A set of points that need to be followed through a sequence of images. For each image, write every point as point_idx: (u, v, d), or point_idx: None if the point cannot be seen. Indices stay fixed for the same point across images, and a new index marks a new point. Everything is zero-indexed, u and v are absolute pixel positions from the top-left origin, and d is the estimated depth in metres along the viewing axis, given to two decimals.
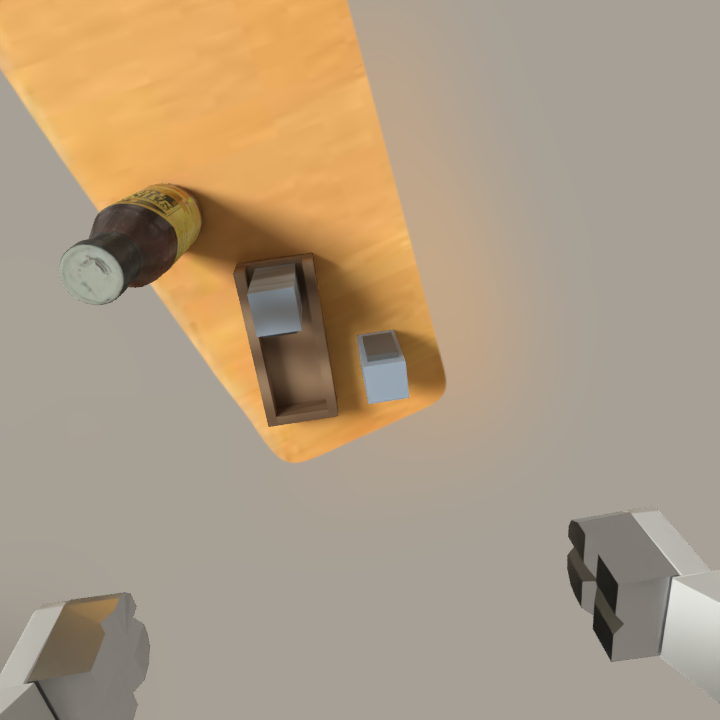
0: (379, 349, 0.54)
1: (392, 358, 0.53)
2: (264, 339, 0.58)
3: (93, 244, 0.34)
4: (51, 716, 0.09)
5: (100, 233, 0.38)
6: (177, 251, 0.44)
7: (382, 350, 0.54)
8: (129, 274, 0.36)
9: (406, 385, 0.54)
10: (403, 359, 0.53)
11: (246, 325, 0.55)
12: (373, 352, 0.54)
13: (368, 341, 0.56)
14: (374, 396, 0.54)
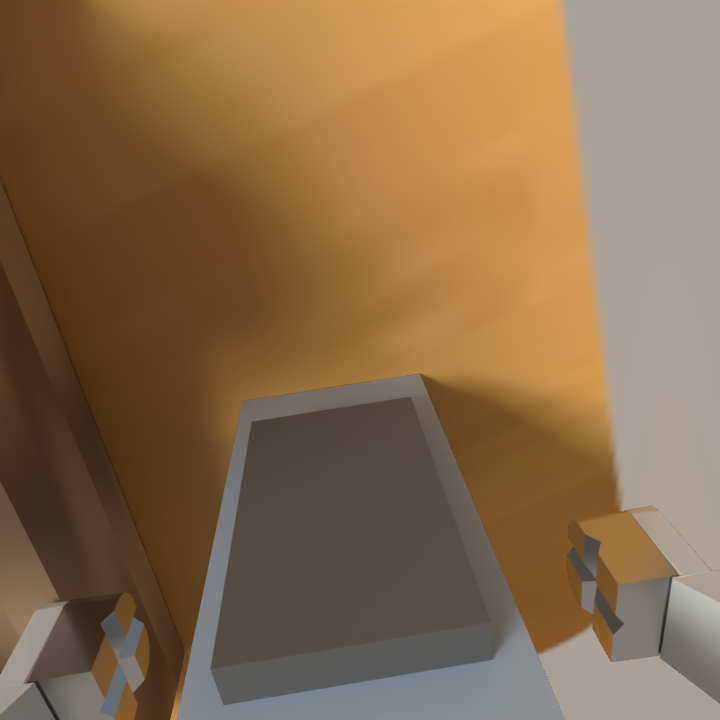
0: (330, 571, 0.07)
1: (439, 676, 0.06)
2: None
3: None
4: (51, 716, 0.09)
5: None
6: None
7: (353, 583, 0.07)
8: None
9: None
10: (546, 709, 0.06)
11: None
12: (278, 607, 0.06)
13: (273, 466, 0.09)
14: None
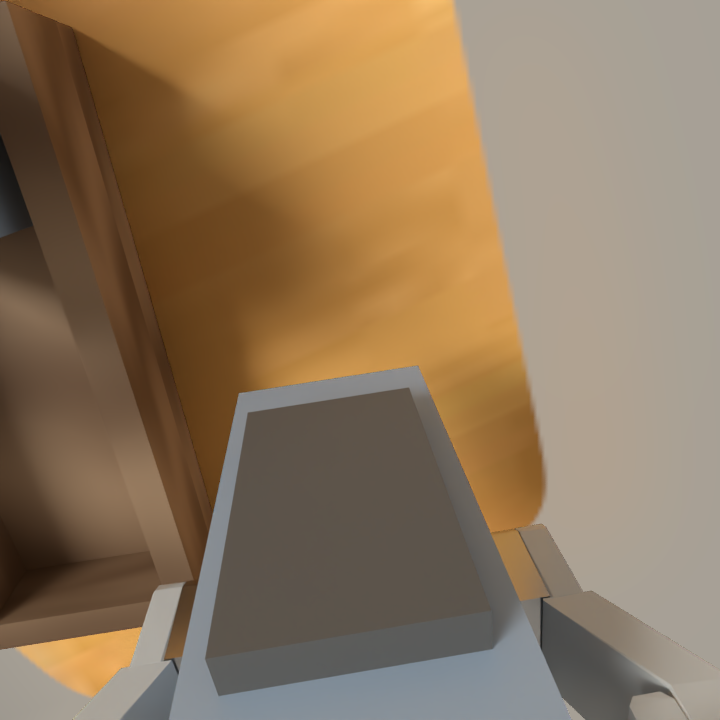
0: (327, 559, 0.07)
1: (439, 665, 0.06)
2: None
3: None
4: None
5: None
6: None
7: (351, 572, 0.07)
8: None
9: None
10: (547, 698, 0.06)
11: None
12: (275, 596, 0.06)
13: (269, 456, 0.09)
14: None
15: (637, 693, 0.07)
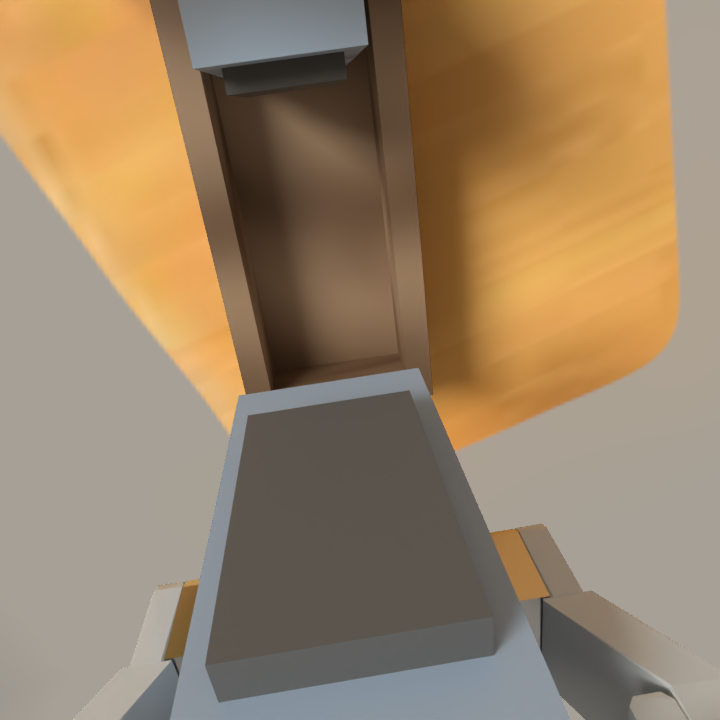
0: (329, 564, 0.07)
1: (440, 672, 0.06)
2: (240, 184, 0.21)
3: None
4: None
5: None
6: None
7: (353, 577, 0.07)
8: None
9: None
10: (549, 706, 0.06)
11: (181, 113, 0.18)
12: (275, 602, 0.06)
13: (270, 460, 0.09)
14: None
15: (637, 693, 0.07)
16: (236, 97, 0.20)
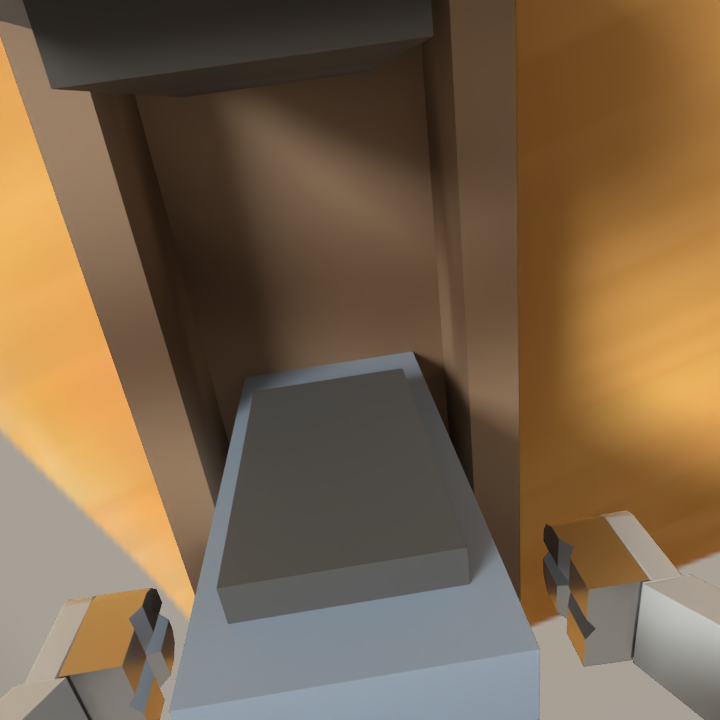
0: (325, 509, 0.08)
1: (422, 597, 0.07)
2: (187, 255, 0.12)
3: None
4: (81, 711, 0.09)
5: None
6: None
7: (346, 519, 0.07)
8: None
9: None
10: (515, 621, 0.06)
11: (41, 132, 0.09)
12: (277, 540, 0.07)
13: (273, 428, 0.10)
14: None
15: None
16: (173, 98, 0.11)
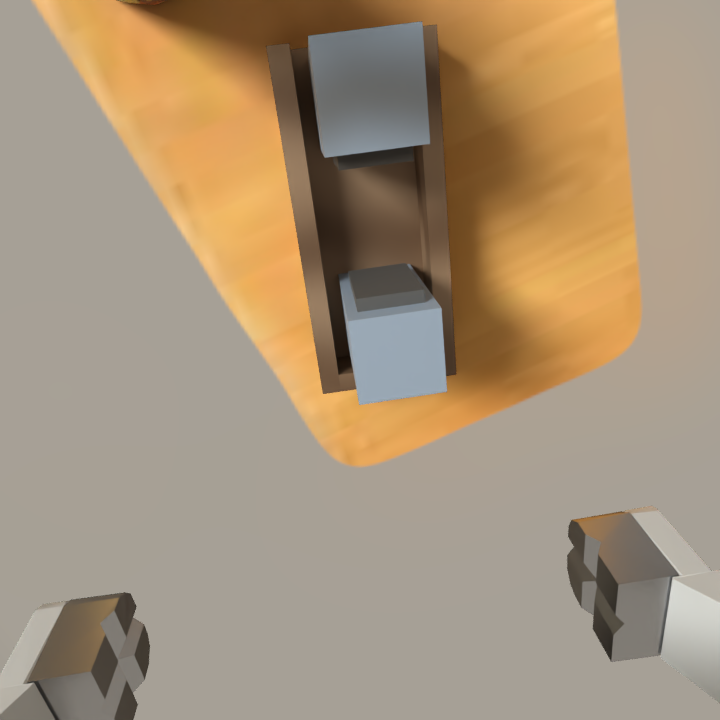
0: (383, 288, 0.25)
1: (411, 304, 0.24)
2: (319, 220, 0.30)
3: None
4: (51, 716, 0.09)
5: None
6: None
7: (389, 288, 0.25)
8: None
9: (441, 364, 0.25)
10: (436, 305, 0.24)
11: (289, 173, 0.26)
12: (370, 292, 0.25)
13: (360, 277, 0.27)
14: (372, 388, 0.25)
15: None
16: (320, 159, 0.28)
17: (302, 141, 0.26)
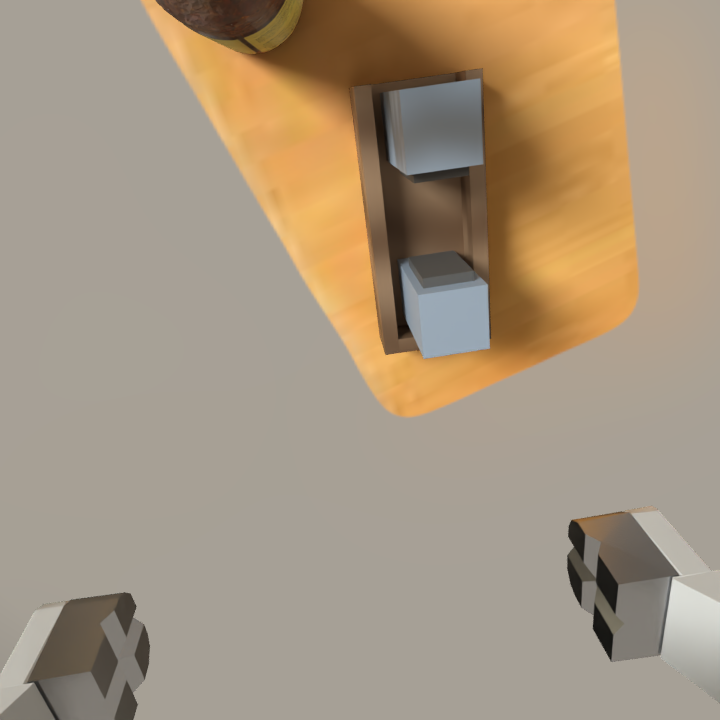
0: (441, 270, 0.33)
1: (464, 282, 0.32)
2: None
3: None
4: (51, 716, 0.09)
5: None
6: None
7: (446, 270, 0.33)
8: None
9: (486, 327, 0.33)
10: (483, 283, 0.32)
11: (366, 182, 0.34)
12: (432, 273, 0.33)
13: (419, 262, 0.35)
14: (433, 346, 0.33)
15: None
16: (386, 169, 0.36)
17: (377, 157, 0.34)
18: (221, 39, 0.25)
